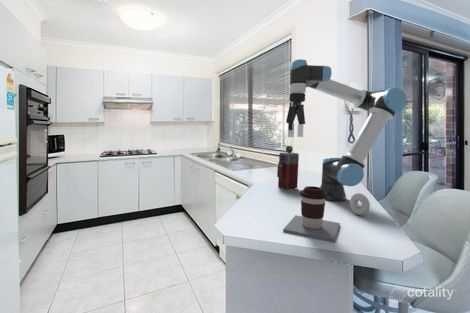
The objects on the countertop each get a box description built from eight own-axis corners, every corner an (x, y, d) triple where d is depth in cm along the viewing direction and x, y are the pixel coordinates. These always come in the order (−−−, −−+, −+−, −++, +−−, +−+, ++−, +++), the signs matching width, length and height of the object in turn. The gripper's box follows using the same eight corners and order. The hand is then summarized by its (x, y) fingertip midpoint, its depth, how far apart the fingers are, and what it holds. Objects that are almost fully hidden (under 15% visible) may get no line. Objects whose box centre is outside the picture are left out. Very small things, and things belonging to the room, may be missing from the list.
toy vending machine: (275, 187, 168) (276, 145, 165) (287, 186, 174) (289, 145, 171) (284, 190, 160) (286, 146, 157) (297, 188, 166) (299, 146, 163)
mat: (295, 217, 111) (295, 215, 111) (339, 225, 103) (339, 223, 103) (283, 231, 95) (283, 229, 95) (334, 242, 87) (334, 239, 87)
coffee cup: (315, 233, 92) (317, 192, 90) (293, 225, 100) (295, 187, 98) (330, 226, 98) (332, 188, 97) (308, 219, 106) (309, 184, 104)
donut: (370, 218, 112) (372, 196, 111) (365, 219, 111) (366, 196, 110) (353, 211, 121) (354, 190, 120) (347, 212, 120) (348, 191, 119)
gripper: (298, 96, 136) (296, 136, 139) (280, 90, 116) (278, 137, 118) (312, 96, 132) (310, 136, 135) (296, 89, 111) (294, 137, 114)
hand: (295, 137), depth 126 cm, fingers open, 13 cm apart
